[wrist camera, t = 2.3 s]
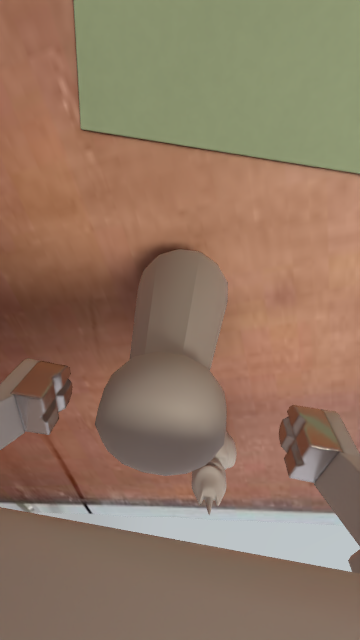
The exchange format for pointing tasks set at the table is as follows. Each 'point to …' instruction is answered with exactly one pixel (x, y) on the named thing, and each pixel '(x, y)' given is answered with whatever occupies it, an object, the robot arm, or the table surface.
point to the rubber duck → (214, 475)
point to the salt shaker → (169, 371)
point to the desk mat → (225, 76)
